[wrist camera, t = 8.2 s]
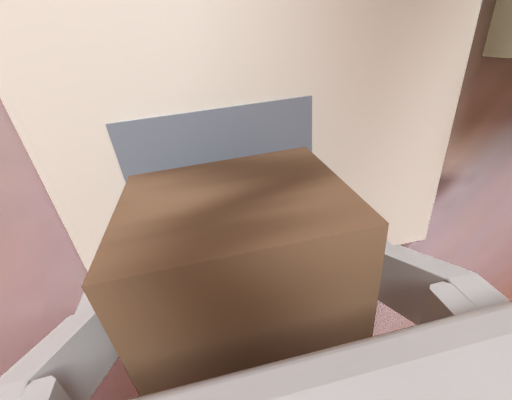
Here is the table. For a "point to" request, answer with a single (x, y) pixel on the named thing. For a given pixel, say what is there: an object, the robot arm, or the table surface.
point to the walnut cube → (235, 267)
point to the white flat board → (234, 94)
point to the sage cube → (500, 31)
